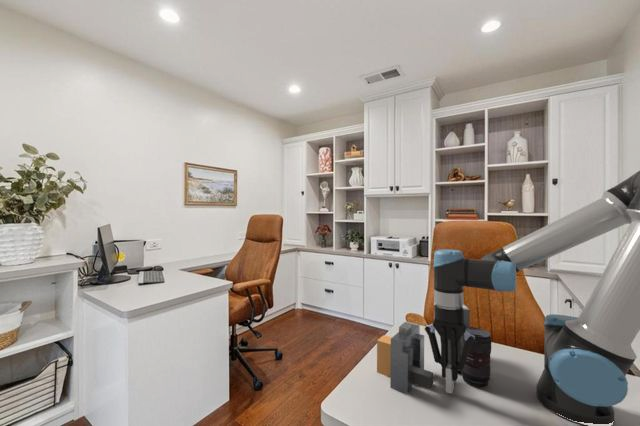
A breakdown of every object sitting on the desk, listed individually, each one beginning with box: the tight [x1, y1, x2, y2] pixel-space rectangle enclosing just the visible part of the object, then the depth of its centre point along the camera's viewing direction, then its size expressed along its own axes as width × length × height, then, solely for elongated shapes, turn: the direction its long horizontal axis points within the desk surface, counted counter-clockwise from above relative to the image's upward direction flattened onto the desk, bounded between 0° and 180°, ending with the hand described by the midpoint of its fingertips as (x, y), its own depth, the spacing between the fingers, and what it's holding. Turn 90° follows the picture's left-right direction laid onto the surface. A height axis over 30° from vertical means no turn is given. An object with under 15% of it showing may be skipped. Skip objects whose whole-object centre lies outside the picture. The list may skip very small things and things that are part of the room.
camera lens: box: [460, 326, 492, 389], centre depth 84 cm, size 8×8×15 cm
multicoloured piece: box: [376, 334, 434, 391], centre depth 86 cm, size 16×5×10 cm, turn 53°
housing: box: [389, 321, 425, 395], centre depth 85 cm, size 5×15×16 cm, turn 143°
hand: (449, 390), depth 78 cm, fingers closed
